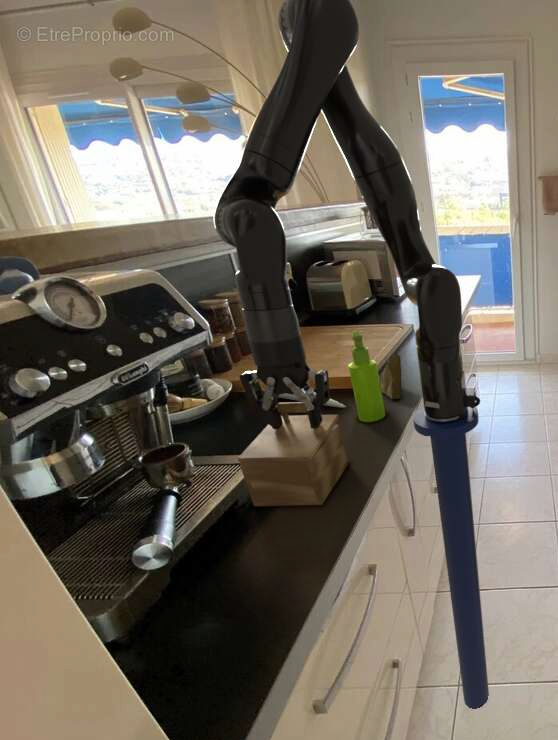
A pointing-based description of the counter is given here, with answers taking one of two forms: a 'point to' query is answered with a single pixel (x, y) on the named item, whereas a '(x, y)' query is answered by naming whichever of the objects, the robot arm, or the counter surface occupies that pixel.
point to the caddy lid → (289, 437)
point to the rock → (392, 378)
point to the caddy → (297, 476)
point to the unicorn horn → (329, 403)
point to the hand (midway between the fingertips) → (296, 426)
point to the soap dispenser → (365, 382)
